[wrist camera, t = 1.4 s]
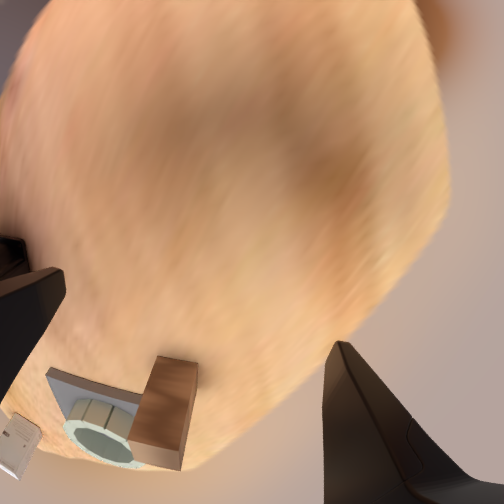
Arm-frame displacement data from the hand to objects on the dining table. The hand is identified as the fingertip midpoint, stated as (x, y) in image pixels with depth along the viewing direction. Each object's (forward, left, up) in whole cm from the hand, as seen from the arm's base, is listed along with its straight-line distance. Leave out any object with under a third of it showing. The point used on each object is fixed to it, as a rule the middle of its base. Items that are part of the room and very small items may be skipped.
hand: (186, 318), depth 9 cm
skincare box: (-34, -45, -14) cm, 58 cm away
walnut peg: (-3, -18, -14) cm, 22 cm away
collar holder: (-12, -30, -14) cm, 35 cm away
